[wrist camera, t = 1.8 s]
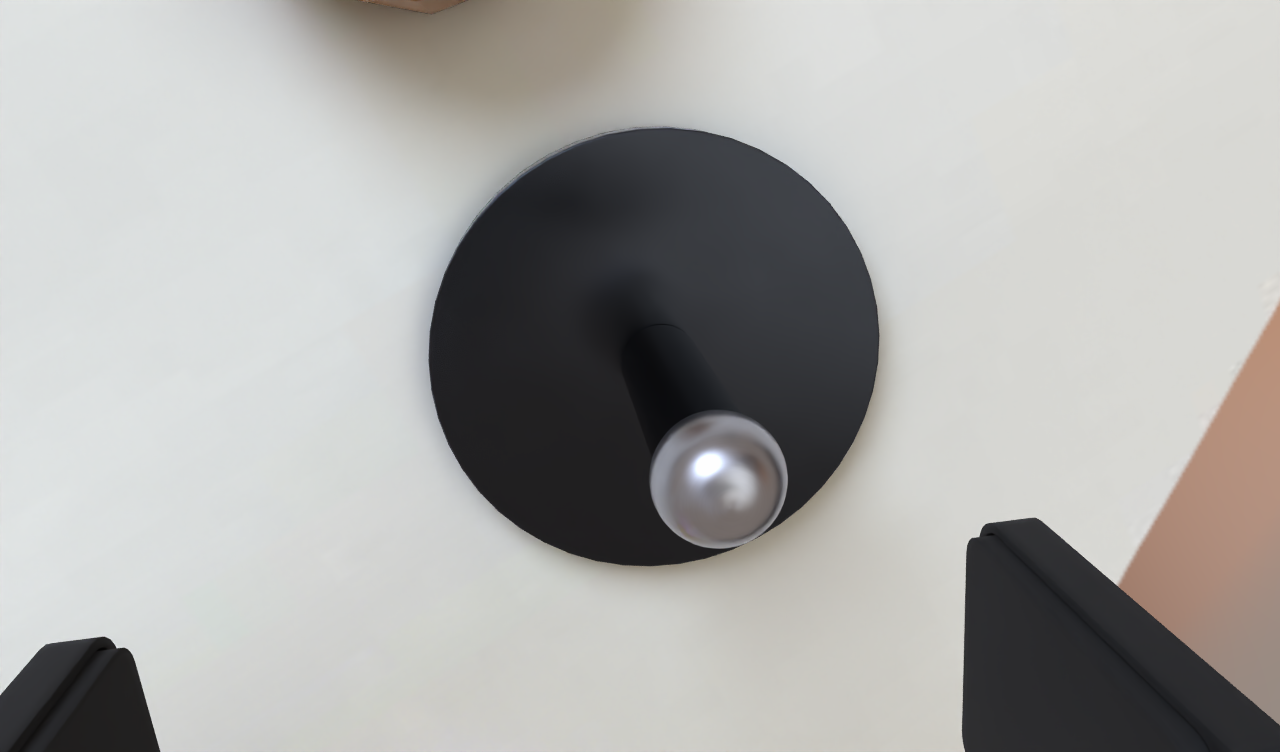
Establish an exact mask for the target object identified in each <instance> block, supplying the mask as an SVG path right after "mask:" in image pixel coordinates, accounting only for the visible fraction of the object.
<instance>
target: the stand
mask: <svg viewBox="0 0 1280 752" xmlns="http://www.w3.org/2000/svg"><path fill="white" fill-rule="evenodd" d="M878 352H879V325H878V313H877V305H876V300H875V296H874V291H873V287H872V282H871V278H870V276H869V273H868V270H867V268H866V265H865V262H864V259H863V257H862V254H861V252H860V250H859V248H858V246H857V244H856V242H855V241H854V239H853V237H852V235H851V233H850V231H849V229H848V228H847V226H846V225H845V223H844V222H843V221H842V219H841V218H840V217H839V215H838V214H837V212H836V211H835V210H834V208H833V207H832V206H831V204H830V203H829V202H828V201H827V200H826V199H825V198H824V197H823V196H822V195H821V194H820V193H819V192H818V191H817V190H816V189H815V188H814V187H813V186H812V185H811V184H810V183H809V182H808V181H807V180H805V179H804V178H803V177H802V176H800V175H799V174H798V173H796V172H795V171H794V170H793V169H791V168H790V167H789V166H787V165H786V164H784V163H783V162H781V161H779V160H777V159H775V158H774V157H772V156H770V155H768V154H767V153H765V152H763V151H761V150H760V149H757V148H755V147H752V146H750V145H747V144H745V143H742V142H739V141H737V140H734V139H732V138H728V137H724V136H720V135H716V134H712V133H708V132H704V131H700V130H695V129H686V128H676V127H666V126H663V127H635V128H629V129H623V130H617V131H611V132H606V133H602V134H599V135H596V136H592V137H589V138H586V139H583V140H580V141H576V142H574V143H572V144H570V145H567V146H565V147H563V148H561V149H559V150H557V151H555V152H553V153H550V154H548V155H546V156H545V157H543V158H542V159H540V160H539V161H537V162H536V163H534V164H533V165H531V166H529V167H528V168H526V169H525V170H523V171H522V172H520V173H519V174H518V175H517V176H516V177H515V178H513V179H512V180H511V181H510V182H509V183H508V184H506V185H505V186H504V187H503V188H502V189H501V190H499V191H498V192H497V193H496V194H495V196H494V197H493V198H492V199H491V200H490V201H489V202H488V203H487V205H486V206H485V207H484V208H483V209H482V210H481V211H480V212H479V214H478V215H477V216H476V218H475V219H474V221H473V222H472V224H471V225H470V226H469V228H468V229H467V231H466V232H465V234H464V235H463V237H462V238H461V240H460V242H459V244H458V246H457V248H456V250H455V252H454V254H453V256H452V258H451V260H450V262H449V264H448V266H447V269H446V271H445V274H444V277H443V280H442V283H441V286H440V289H439V292H438V295H437V298H436V301H435V306H434V311H433V317H432V322H431V328H430V339H429V370H430V381H431V390H432V395H433V399H434V403H435V407H436V411H437V415H438V419H439V422H440V424H441V427H442V429H443V432H444V434H445V437H446V439H447V442H448V445H449V446H450V448H451V450H452V452H453V454H454V455H455V457H456V459H457V461H458V462H459V464H460V466H461V468H462V470H463V471H464V472H465V474H466V475H467V476H468V478H469V479H470V480H471V481H472V483H473V484H474V485H475V487H476V488H477V489H478V491H479V492H480V493H481V494H482V495H483V496H484V497H485V498H486V499H487V500H488V501H489V502H490V503H491V504H492V505H493V506H494V507H495V508H496V509H497V510H498V511H499V512H500V513H501V514H503V515H504V516H505V517H507V518H508V519H509V520H510V521H512V522H513V523H514V524H516V525H517V526H518V527H519V528H521V529H522V530H524V531H526V532H528V533H529V534H531V535H533V536H534V537H536V538H538V539H540V540H541V541H543V542H545V543H547V544H549V545H552V546H554V547H556V548H559V549H561V550H563V551H566V552H568V553H571V554H574V555H578V556H581V557H585V558H588V559H592V560H595V561H600V562H607V563H613V564H619V565H632V566H659V565H671V564H681V563H685V562H690V561H695V560H700V559H705V558H708V557H711V556H714V555H717V554H721V553H724V552H727V551H730V550H732V549H735V548H737V547H739V546H741V545H743V544H745V543H748V542H750V541H752V540H754V539H756V538H758V537H760V536H761V535H763V534H765V533H766V532H768V531H769V530H771V529H773V528H774V527H776V526H778V525H779V524H781V523H782V522H783V521H785V520H786V519H787V518H788V517H790V516H791V515H792V514H794V513H795V512H796V511H797V510H799V509H800V508H801V507H802V506H803V505H804V504H805V503H806V502H807V501H808V500H809V499H810V498H811V497H812V496H813V495H814V494H815V493H816V492H817V491H818V490H819V489H820V488H821V487H822V486H823V485H824V484H825V482H826V481H827V480H828V479H829V477H830V476H831V475H832V474H833V472H834V471H835V470H836V469H837V467H838V466H839V465H840V463H841V461H842V460H843V458H844V456H845V455H846V453H847V451H848V450H849V448H850V447H851V445H852V443H853V442H854V439H855V437H856V435H857V433H858V431H859V428H860V426H861V424H862V422H863V420H864V417H865V414H866V411H867V408H868V405H869V402H870V398H871V395H872V392H873V388H874V382H875V377H876V371H877V365H878Z"/></svg>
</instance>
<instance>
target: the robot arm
mask: <svg viewBox="0 0 1280 752" xmlns="http://www.w3.org/2000/svg"><path fill="white" fill-rule="evenodd" d="M962 738H963V744H964V749H965V752H1280V725H1279V724H1277V723H1276V722H1275V721H1274V720H1273V719H1271V717H1269V716H1268V715H1267V714H1266V713H1265V712H1263V711H1262V710H1261V709H1260V708H1259V707H1258V706H1257V705H1255V704H1254V703H1253V702H1252V701H1250V699H1248V698H1247V697H1246V696H1245V695H1244V694H1242V693H1241V692H1240V691H1239V690H1238V689H1237V688H1236V687H1234V686H1233V685H1232V684H1230V682H1228V681H1227V680H1226V679H1225V678H1224V677H1223V676H1221V675H1220V674H1219V673H1218V672H1217V671H1216V670H1214V669H1213V668H1212V667H1211V666H1209V664H1208V663H1206V662H1205V661H1204V660H1203V659H1201V658H1200V657H1199V656H1198V655H1197V654H1196V653H1195V652H1194V651H1192V650H1191V649H1190V648H1189V647H1188V646H1187V645H1185V644H1184V643H1183V642H1182V641H1180V639H1178V638H1177V637H1176V636H1175V635H1174V634H1173V633H1171V632H1170V631H1169V630H1168V629H1167V628H1165V627H1164V626H1163V625H1162V624H1161V623H1159V621H1157V620H1156V619H1155V618H1154V617H1153V616H1152V615H1150V614H1149V613H1148V612H1147V611H1146V610H1145V609H1143V608H1142V607H1141V606H1140V605H1139V604H1138V603H1136V602H1135V601H1134V600H1133V599H1132V598H1131V597H1129V596H1128V595H1127V594H1126V593H1125V592H1124V591H1122V590H1121V589H1120V588H1119V587H1118V586H1117V585H1115V584H1114V583H1113V582H1112V581H1111V580H1110V579H1108V578H1107V577H1106V576H1105V575H1104V574H1103V573H1101V572H1100V571H1099V570H1098V569H1097V568H1096V567H1094V566H1093V565H1092V564H1091V563H1090V562H1089V561H1087V560H1086V559H1085V558H1084V557H1083V556H1082V555H1080V554H1079V553H1078V552H1077V551H1076V550H1075V549H1073V548H1072V547H1071V546H1070V545H1069V544H1068V543H1066V542H1065V541H1064V540H1063V539H1062V538H1061V537H1059V536H1058V535H1057V534H1056V533H1055V532H1054V531H1052V530H1051V529H1050V528H1049V527H1048V526H1047V525H1045V524H1044V523H1043V522H1042V521H1040V520H1039V519H1037V518H1027V519H1019V520H1011V521H1004V522H996V523H988V524H986V525H985V526H983V528H982V530H981V533H980V537H977V538H972V539H971V540H970V541H969V543H968V545H967V553H966V593H965V634H964V675H963V715H962ZM0 752H160V749H159V746H158V742H157V738H156V735H155V731H154V728H153V724H152V721H151V717H150V714H149V710H148V707H147V703H146V699H145V696H144V692H143V689H142V685H141V682H140V678H139V675H138V671H137V667H136V664H135V661H134V658H133V656H132V654H131V652H130V651H129V650H128V649H126V648H118V649H116V646H115V645H114V643H113V642H112V641H111V640H110V639H109V638H106V637H97V638H90V639H82V640H74V641H66V642H58V643H51V644H46V645H45V646H44V647H43V648H41V649H40V650H39V651H38V652H37V653H36V655H35V656H34V657H33V658H32V659H31V660H30V662H29V663H28V664H27V665H26V666H25V667H24V668H23V670H22V671H21V672H20V673H19V674H18V675H17V677H16V678H15V679H14V680H13V681H12V682H11V684H10V685H9V686H8V687H7V688H6V689H5V690H4V692H3V693H2V694H1V695H0Z"/></svg>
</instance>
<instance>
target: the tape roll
mask: <svg viewBox="0 0 1280 752" xmlns="http://www.w3.org/2000/svg"><path fill="white" fill-rule="evenodd" d="M358 1H363V2H368V3H374V4H379V5H385V6H390V7H396V8H401V9H406V10H412V11H417V12H423V13H428V14H434V13H436V12H439V11H442V10H444V9H447V8H449V7H452V6H454V5H457V4H459V3H462V2H465V1H467V0H358Z"/></svg>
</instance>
